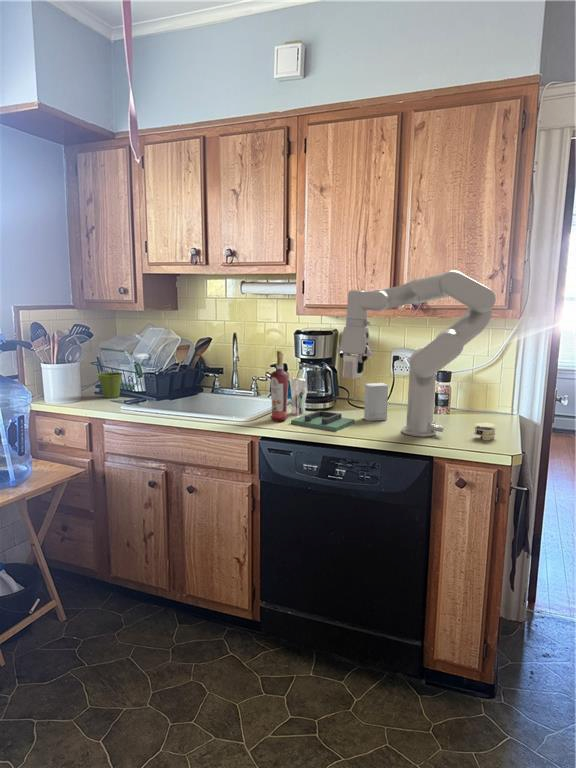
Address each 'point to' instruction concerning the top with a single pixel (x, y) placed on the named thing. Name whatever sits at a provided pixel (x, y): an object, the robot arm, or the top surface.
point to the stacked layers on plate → (485, 430)
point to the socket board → (323, 421)
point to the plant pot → (110, 383)
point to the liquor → (279, 390)
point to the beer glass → (298, 395)
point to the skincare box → (376, 401)
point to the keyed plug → (351, 366)
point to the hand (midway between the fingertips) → (352, 371)
